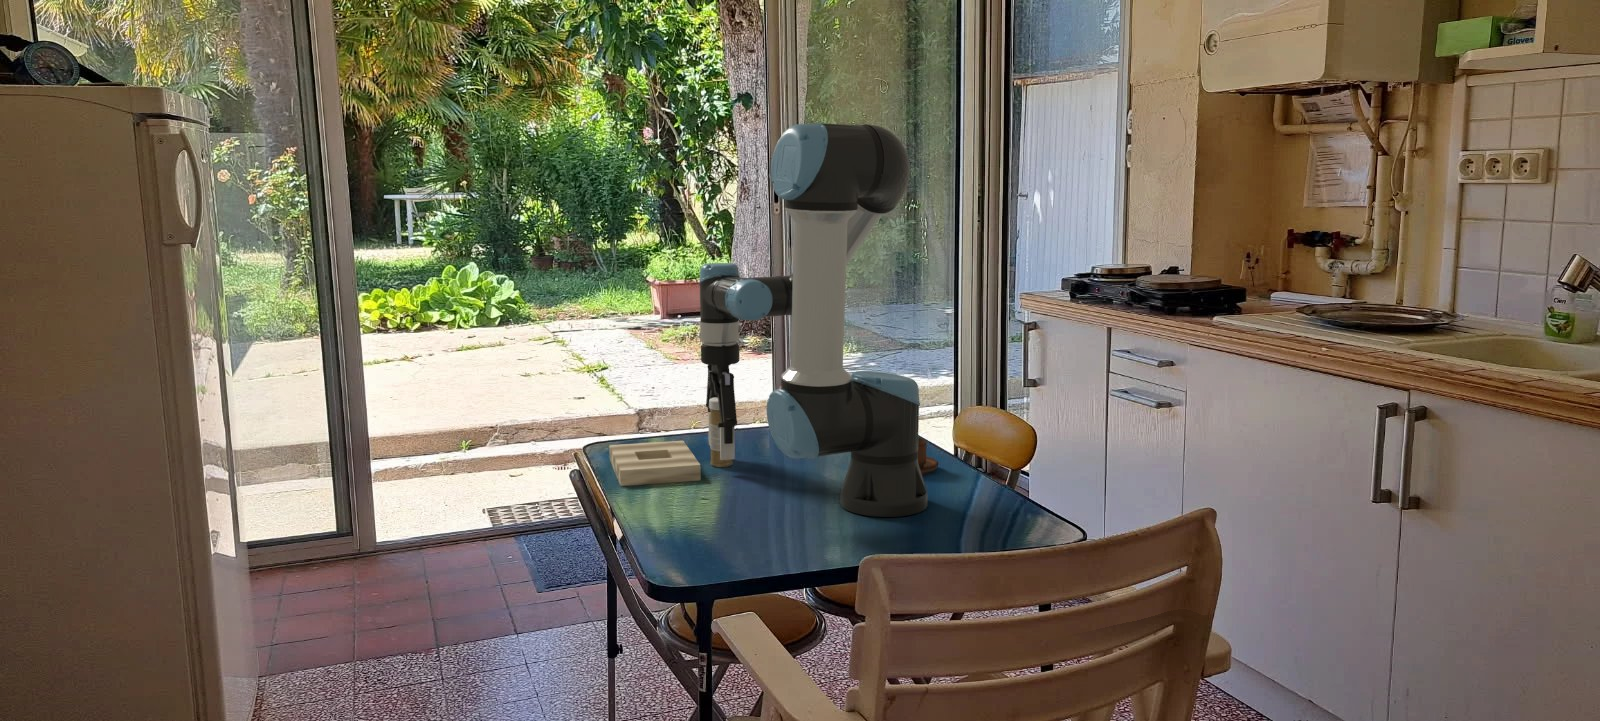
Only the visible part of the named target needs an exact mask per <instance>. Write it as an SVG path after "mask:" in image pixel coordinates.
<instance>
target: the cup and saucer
mask: <svg viewBox="0 0 1600 721" xmlns="http://www.w3.org/2000/svg"><path fill="white" fill-rule="evenodd" d="M927 444H928V442H927V440H926V439H925V438H922V437H918V464H919V468H920V471H921V474H922V475H926V474H929V473H931V472H933V471H935V470H936V469H938V467H939V461H938V460H937V459H935V458H934V457H933V458H932V457H930V456H927Z"/></svg>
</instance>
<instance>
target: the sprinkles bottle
mask: <svg viewBox="0 0 1600 721" xmlns="http://www.w3.org/2000/svg"><path fill="white" fill-rule="evenodd" d="M709 408H710V412H709V413H710V447H709V448H710V462H709V464H710V465H711V466H712V467H716V468H725V467H730V466H732V465H733V464H734V462H733V461H734V460H733V459H731V460H721V459H720V428H718V424H719V423H721V418H720V410H719V403H718V397H714V398H711V399H710V400H709ZM727 420H728V419H727Z"/></svg>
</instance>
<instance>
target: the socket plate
mask: <svg viewBox="0 0 1600 721" xmlns="http://www.w3.org/2000/svg"><path fill="white" fill-rule="evenodd" d="M608 448H609V461H610V463H611V467H612V469H613V471H614V473H615V476H616V478H617V480H618V483H619V486H620V487H626V486H627V487H628V486H639V485H640V486H641V485H643V486H644V485H654V484H669V483H681V482H694V481H695V482H697V481H701V479H702V478H701V475H702V473H701V472H702V471H701V470H702V469H701V463H700V462H699V461H698V459H697V458H696V456H695V455H694V454H693V452H692V451H691V449H690V448H689V447H688V445H687V444H686V443H685V441H684V440H674V441H673V440H671V441H653V442H638V443H624V444H622V443H621V444H610V445H609V447H608Z"/></svg>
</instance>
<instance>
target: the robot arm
mask: <svg viewBox="0 0 1600 721" xmlns="http://www.w3.org/2000/svg"><path fill="white" fill-rule="evenodd" d="M906 149H907V148H906V147H905V146H904V145H903V142H902V141H901V140H900V139H899V137H897V136H896V134H894V133H893V132H892V131H890V130H889V129H886V127H882V126H880V125H875V124H844V123H822V122H813V123H812V122H811V123H798V124H795V125H794V124H793V125H792V126H790V127H788V128H787V129H786V130H785V131H783V133H782V134H781V136H780V138H779V139H778V140H777V142H776V144H775V147H774V150H773V153H772V158H771V164H770V180H771V183H772V188H773V191H774V192H775V194H776V195H777V197H779V198H780V199H782V200H784V210H785V211H786V212H787V213H788V215H789V216H790V217H791V218H792V220H793V246H792V247H793V250H792V251H793V252H792V253H793V254H792V273H791V274H789V275H775V276H760V277H759V276H754V277H740V272H739V267H738V265H737V264H736V263H732V262H731V263H729V262H728V263H727V262H724V263H723V262H717V263H716V262H712V263H706V264H705V263H704V264H703V265H701V267H700V269H699V270H700V271H699V282H698V285H699V306H700V309H699V310H700V312H699V314H700V320H699V326H700V327H699V331H700V332H699V333H700V336H699V337H700V338H699V339H700V341H701V342H702V344H701V345H700V360H701V363H702V364H704V365H707V383H706V384H707V386H706V401H705V406H706V408H707V412H708V413H707V415H708V416H707V418H708V421H707V422H708V446H710V408H709V400H710V399H711V398H714V397H718V403H719V410H720V418H721V423H719V424H718V428H720V459H721V460H731V459H732V460H735V459H736V454H735V453H736V450H735V449H736V446H735V445H736V444H735V442H736V441H735V440H736V439H735V438H736V436H735V435H736V434H735V433H736V432H735V426H737V425H738V420H737V419H738V418H737V408H736V396H735V381H734V380H735V375H734V373H732V372H730V365H737V363H739V362H740V345H739V343H738V341H739V340H740V332H739V331H741V330H742V329H743V327H742V325H741V324H740V323H739V321H745V322H746V321H747V322H748V321H750V322H751V321H753V322H754V321H759V320H761V319H763V318H767V317H768V318H769V317H771V318H772V317H781V316H783V317H784V316H791V329H790V330H791V335H790V336H791V337H790V342H791V343H790V366H789V367H788V368H787V369H786V370H785V371H784V372H782V374H781V377H780V378H781V380H780V385H781V389H780V388H777V389H775V390H773V391H771V393H770V394H769V396H768V398H767V402H766V418H767V423H768V428H769V432H770V434H771V436H772V438H773V441H774V443H775V445H776V447H777V448H778V449H779V451H780V452H781V453H783V454H784V455H785V456H787V457H789V458H791V459H807V458H809V459H816V458H817V457H818V458H819V457H823V456H831V455H837V454H838V455H839V454H845V453H846V454H847V453H850V462H849V464H848V465H849V466H848V468H847V471H846V474H845V476H844V481H843V483H842V485H841V488H840V493H839V494H840V501H839V502H840V506H841V507H842V508H843V509H844V510H846V511H847V512H848V511H849V512H850V513H853V514H857V515H863V516H869V517H876V518H881V517H882V518H896V517H906V516H912V515H915V514H919V513H921V512H923V511H925V510H926V509H927V507H928V491H927V487H926V484H925V480H924V477H923V474H921V471H920V468H919V464H918V438H919V428H920V427H919V422H920V421H919V420H920V419H919V418H920V414H919V413H920V406H921V403H920V391H919V389H920V388H919V384H918V383H917V382H916V381H915V379H913V378H911V377H909V376H905V375H900V374H896V373H895V374H894V373H889V372H888V373H887V372H880V371H867V370H858V371H853V372H852V373H851V374H849V373H848V371H847V370H846V369H845V368H844V344H845V343H844V341H845V340H844V339H845V315H846V314H845V312H846V310H845V308H846V285H847V284H846V283H847V282H846V281H847V280H846V279H847V265H848V264H849V262H850V261H851V260H852V258H853V257H854V255H855V254H856V253H857V251H858V250H859V248H860V247H861V245H862V244H863V243H864V241H865V240H866V239H867V237H868V236H869V234H870V233H871V231H873V229H874V227H875V226H876V224H878V222H879V220H880V219H881V218H882V216H884V215H886V214H889V213H891V212H893V211H894V209H895V208H896V206H897V205H898V204H899V202H901V199H902V198H903V196H904V194H905V193H906V190H907V188H908V185H909V181H910V174H911V173H910V172H911V166H910V164H911V163H910V160H909V154H908V152H907V150H906ZM727 419H728V420H727Z"/></svg>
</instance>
